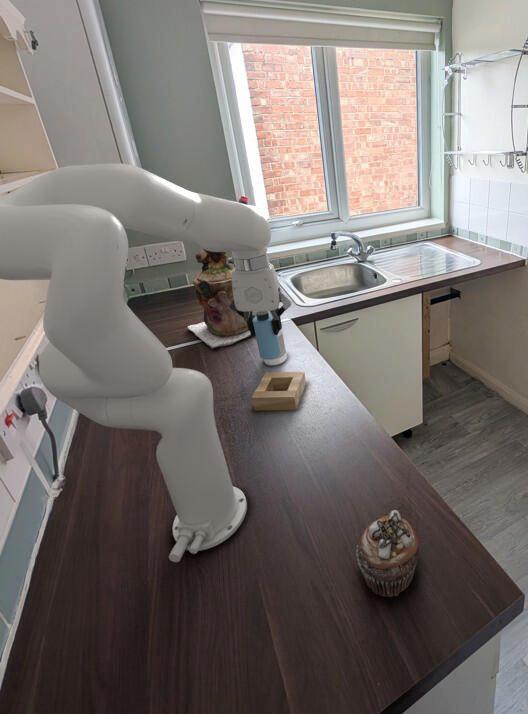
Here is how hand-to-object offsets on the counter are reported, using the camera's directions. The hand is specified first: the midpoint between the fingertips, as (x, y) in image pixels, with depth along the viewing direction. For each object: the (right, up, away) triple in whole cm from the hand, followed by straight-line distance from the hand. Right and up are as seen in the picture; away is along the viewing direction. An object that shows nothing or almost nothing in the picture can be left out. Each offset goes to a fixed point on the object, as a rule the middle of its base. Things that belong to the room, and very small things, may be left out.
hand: (265, 331), depth 97 cm
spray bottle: (-5, -11, +26) cm, 28 cm away
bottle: (0, -6, +2) cm, 6 cm away
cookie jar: (-26, -4, +47) cm, 54 cm away
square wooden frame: (+2, -18, +8) cm, 20 cm away
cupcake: (+30, -34, -34) cm, 56 cm away
